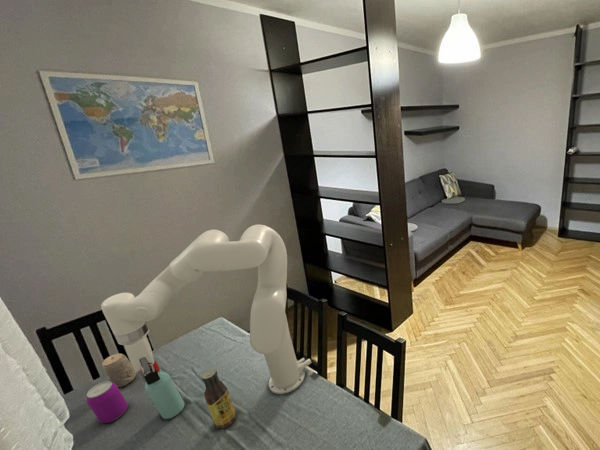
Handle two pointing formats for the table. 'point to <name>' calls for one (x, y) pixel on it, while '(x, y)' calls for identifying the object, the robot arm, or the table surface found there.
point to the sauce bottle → (218, 399)
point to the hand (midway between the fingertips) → (152, 376)
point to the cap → (154, 367)
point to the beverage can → (106, 401)
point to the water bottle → (165, 396)
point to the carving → (118, 370)
